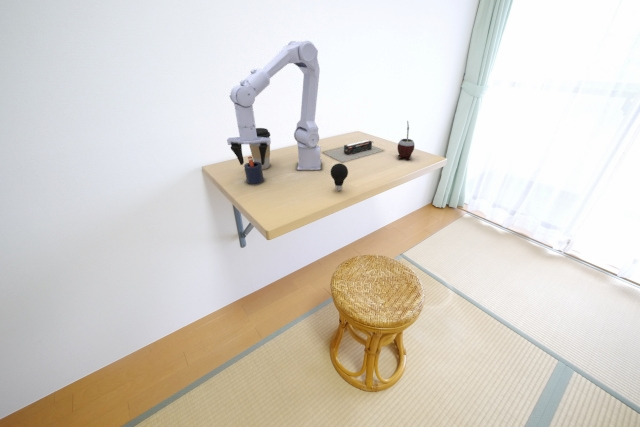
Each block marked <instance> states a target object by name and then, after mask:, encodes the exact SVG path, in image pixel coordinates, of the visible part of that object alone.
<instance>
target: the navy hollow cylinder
mask: <svg viewBox="0 0 640 427" xmlns="http://www.w3.org/2000/svg"><path fill="white" fill-rule="evenodd" d="M253 163H254V167H250V164H249V162H246V163H244V164H243V167H244V172H245V178H246V182H247V184H248V185H251V186H253V185H254V186H255V185H259V184H262V183H263V182H264V181H265V180H264V174H263V169H262V165H261V163H259V162H254V161H253Z"/></svg>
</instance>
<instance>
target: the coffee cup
mask: <svg viewBox="0 0 640 427" xmlns="http://www.w3.org/2000/svg"><path fill="white" fill-rule="evenodd" d="M256 133H257V137H266V138H270V137H271V132H270V131H269V129H267V128H264V127H256ZM248 146H249V149H250V153H251V157H252V158H253V162H259V163H261V155H260V151H259V146H260V144H248ZM270 156H271V144H270V145H268V147H267V150H266V154H265V163H264V165H262V164H261V165H262V170H266V169H269V168H270V166H271V165H270V164H271V159H270V158H271V157H270Z"/></svg>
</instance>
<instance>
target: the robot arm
mask: <svg viewBox="0 0 640 427" xmlns="http://www.w3.org/2000/svg"><path fill="white" fill-rule="evenodd" d="M318 51H319V50H318V49H317V47H316V46H315V44H314V43H313V42H312V41H310V40H304V41H303V40H299V41H298V40H297V41H296V40H292V41H289V42H288V43H287V44H285V45H284V46H283V47H282V49H281V50H280V51H278V53H277V54H276V55H275V56H274V57H273V58H272V59H271V60H270V61H269V62H268V63H267V64H266V65H265V66H264V67H263V68H253V69H251V70H250V74H249V75H248V76H247V77H245V79H241V80H240V81H239V83H240V84H237V85H234V86H233V87H232V88H231V90H230V95H229V99H230V101H231V102H232V104H233V106H234V110H235V112H234V113H235V118H236V123H237V129H238V134H239V136H237V137H236V136H235V137H227V139H226V142H227V145H228V146H230V150H231V151H232V152H233V154H234V155H235V157H236V159H237V160H238V162H239V165H240V166H244V164H245V162H244V156H243V148H242V146H243V145H249V144H260V146H259V151H260V155H261V164H262V165H264V163H265V154H266V150H267V147H268V145H270V146H271V144H272V142H271V141H272V140H271V137H269V138H266V137H257V133H256V128H257V126H256V120H255V119H256V118H255V112H254V104H255V101H256V98H257V97H258V96H259V95H260V94H261V93H262V92H263V91H264V90H265V89H266V88H267V87H268V86H270V84H271V78H273V77H274V76H275V75H276V74H277V73H278V72H280V71H282V69H284V67H286V66H287V65H289V64H294V65H295V66H297V67H298V69H299V70H300V71H301V72H302V74H303V81H302V96H301V107H300V119H299V120H298V121H297V123H296V128H295V130H294V133H293V138H294V140H295V141H296V143H297V144H296V145H297V156H298V163H297V168H296V169H297V170H298V171H320V170H321V168H322V167H321V164H322V158H321V156H322V155H321V145H318V144H319V142H320V133H319V127H318V125H317V124H316V110H317V103H318V92H319V91H318V90H319V82H320V64H319V59H318V56H319V55H318Z"/></svg>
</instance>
